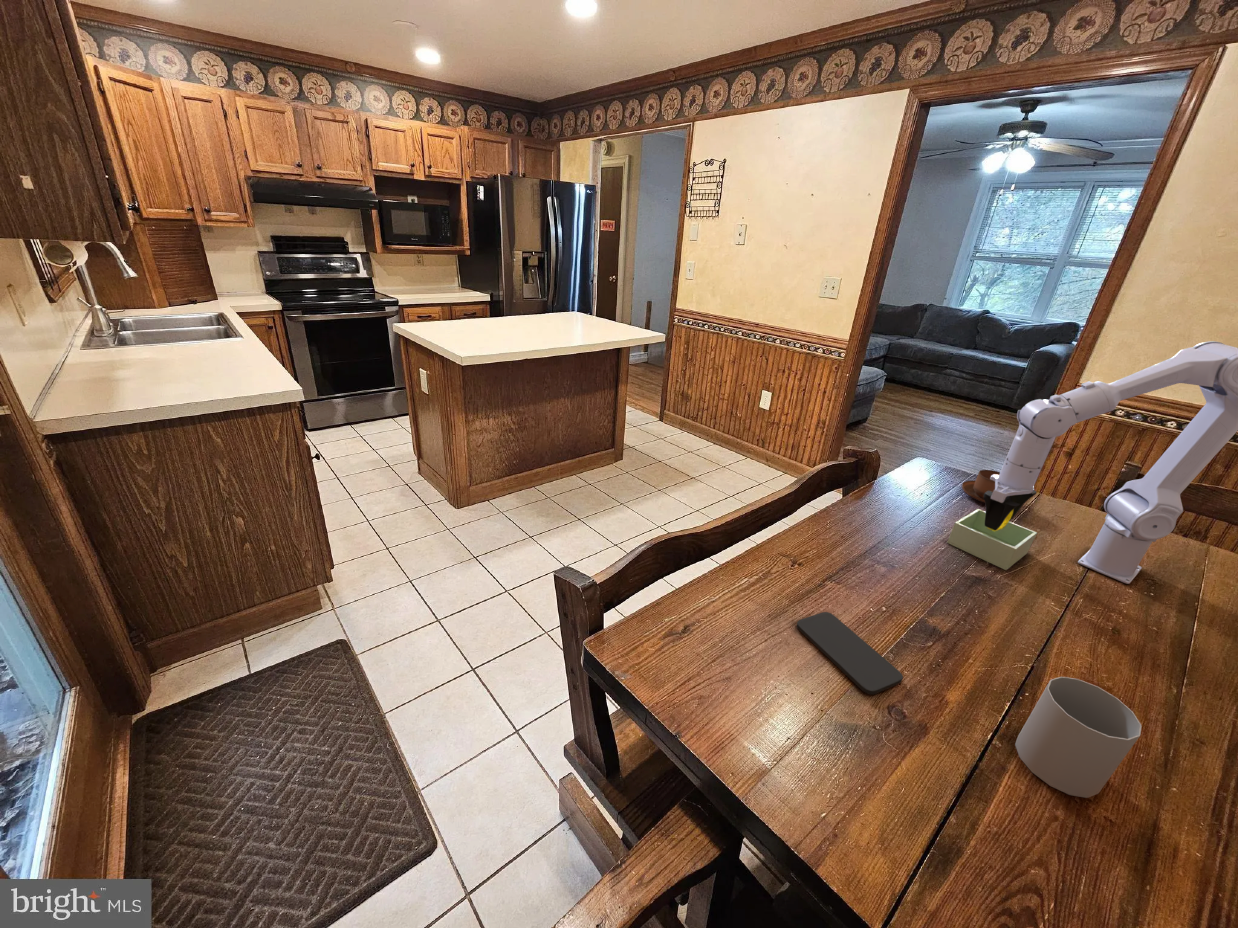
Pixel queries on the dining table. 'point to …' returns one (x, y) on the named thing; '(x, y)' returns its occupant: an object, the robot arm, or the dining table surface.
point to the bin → (991, 540)
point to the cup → (1077, 736)
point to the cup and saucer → (980, 485)
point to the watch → (1004, 521)
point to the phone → (850, 653)
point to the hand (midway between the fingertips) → (997, 523)
